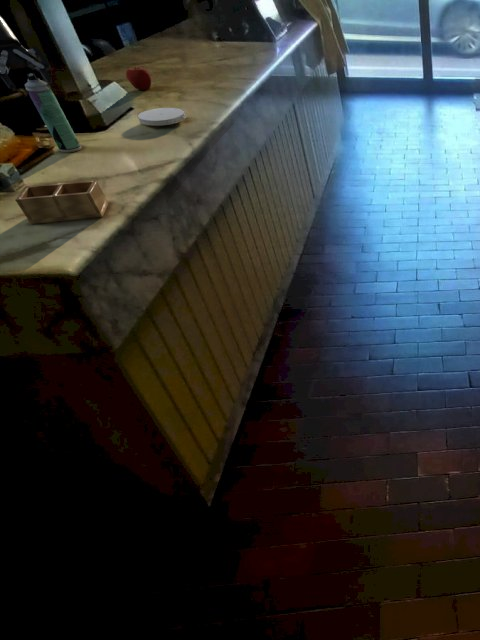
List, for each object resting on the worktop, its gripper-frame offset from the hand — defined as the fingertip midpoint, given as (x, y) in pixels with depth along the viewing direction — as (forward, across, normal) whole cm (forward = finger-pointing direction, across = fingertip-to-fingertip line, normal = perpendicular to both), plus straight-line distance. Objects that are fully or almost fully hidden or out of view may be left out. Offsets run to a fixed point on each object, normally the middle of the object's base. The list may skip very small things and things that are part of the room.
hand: (32, 86), depth 146 cm
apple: (-20, +41, +43) cm, 63 cm away
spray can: (+15, 0, +7) cm, 17 cm away
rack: (+48, -14, -25) cm, 56 cm away
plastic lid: (+10, +30, +12) cm, 34 cm away
